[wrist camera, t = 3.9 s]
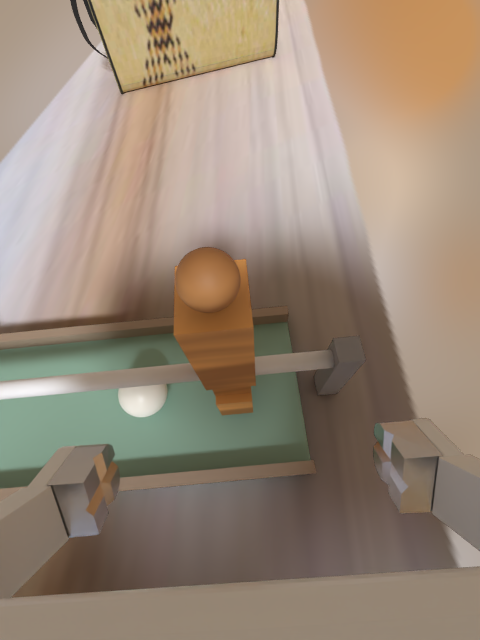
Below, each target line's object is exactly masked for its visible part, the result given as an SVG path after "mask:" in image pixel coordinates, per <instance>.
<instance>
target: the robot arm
mask: <svg viewBox="0 0 480 640" xmlns="http://www.w3.org/2000/svg"><path fill="white" fill-rule="evenodd" d="M374 436H375V437H376V439H377V440H378V442H377V443H376V444H375V446H374V447H373V457H374V463H375V467H376V470H377V472H378V474H379V476H380V478H381V480H382V481H383V482H385V483H387V484H388V485H389V495H390V496H391V498H392V500H393V502H394V504H395V505H396V507H397V509H398V511H399V513H421V512H432V514H433V515H434V516H436V517H437V518H438V519H439V520H441V521H442V522H443V523H445V524H446V525H447V526H448V527H450V528H451V529H452V530H453V531H455V532H456V533H457V534H459V535H460V536H461V537H463V538H464V539H465V540H466V541H468V542H469V543H470V544H471V545H473V546H474V547H475V548H477V549H478V550H479V551H480V459H479V458H477V457H474V456H472V455H464V454H463V453H462V452H461V451H460V450H459V449H458V448H457V447H456V446H455V445H454V444H453V443H452V442H451V441H450V440H449V438H448V437H447V436H446V435H445V434H444V433H443V432H442V431H441V430H440V429H439V428H438V427H437V426H436V425H435V424H434V423H433V422H432V421H431V420H430V419H427V418H422V419H412V420H408V421H396V422H384V423H376V424H375V427H374ZM114 456H115V452H114V449H113V446H112V445H110V444H96V445H79V446H65V447H61V448H59V449H58V450H57V451H56V452H55V453H54V455H53V456H52V457H51V458H50V460H49V461H48V462H47V463H46V465H45V466H44V467H43V468H42V470H41V471H40V472H39V473H38V474H37V476H36V477H35V478H34V479H33V481H32V482H31V483H30V484H29V486H28V487H27V488H21V489H19V490H18V491H16V492H15V493H13V494H11V495H10V496H8V497H7V498H5V499H4V500H2V501H0V640H480V567H465V568H450V569H435V570H420V571H405V572H390V573H374V574H359V575H344V576H329V577H314V578H298V579H283V580H268V581H253V582H238V583H223V584H208V585H193V586H178V587H163V588H148V589H133V590H118V591H103V592H88V593H73V594H57V595H42V596H27V597H12V596H13V595H14V594H15V593H16V592H17V591H18V590H19V589H20V588H21V587H22V586H23V585H24V584H25V583H26V582H27V581H28V580H29V579H30V578H31V577H32V576H33V575H34V574H35V573H36V572H37V571H38V570H39V569H40V568H41V567H42V566H43V565H44V564H45V563H46V562H47V561H48V560H49V559H50V558H51V557H52V556H53V555H54V554H55V553H56V552H57V551H58V550H59V549H60V548H61V547H62V546H63V545H64V544H65V543H66V542H67V541H68V540H69V538H72V537H82V536H91V535H99V534H100V532H101V529H102V527H103V525H104V523H105V520H106V518H107V516H108V514H109V512H108V509H107V506H108V505H109V504H111V503H112V502H113V501H114V500H115V498H116V496H117V493H118V490H119V485H120V472H119V468H118V466H117V465H116V464H115V463H114V462H113V461H112V460H113V458H114ZM11 597H12V598H11Z"/></svg>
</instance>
